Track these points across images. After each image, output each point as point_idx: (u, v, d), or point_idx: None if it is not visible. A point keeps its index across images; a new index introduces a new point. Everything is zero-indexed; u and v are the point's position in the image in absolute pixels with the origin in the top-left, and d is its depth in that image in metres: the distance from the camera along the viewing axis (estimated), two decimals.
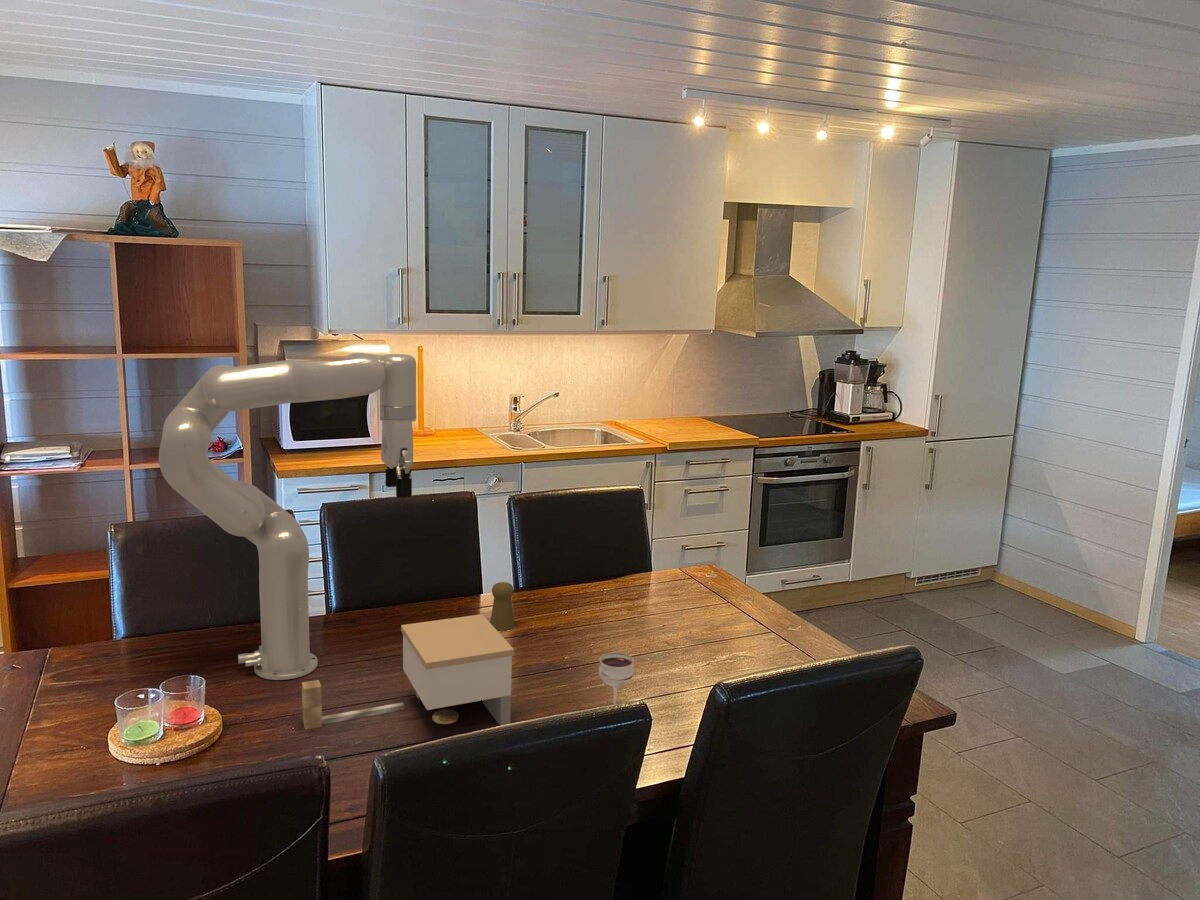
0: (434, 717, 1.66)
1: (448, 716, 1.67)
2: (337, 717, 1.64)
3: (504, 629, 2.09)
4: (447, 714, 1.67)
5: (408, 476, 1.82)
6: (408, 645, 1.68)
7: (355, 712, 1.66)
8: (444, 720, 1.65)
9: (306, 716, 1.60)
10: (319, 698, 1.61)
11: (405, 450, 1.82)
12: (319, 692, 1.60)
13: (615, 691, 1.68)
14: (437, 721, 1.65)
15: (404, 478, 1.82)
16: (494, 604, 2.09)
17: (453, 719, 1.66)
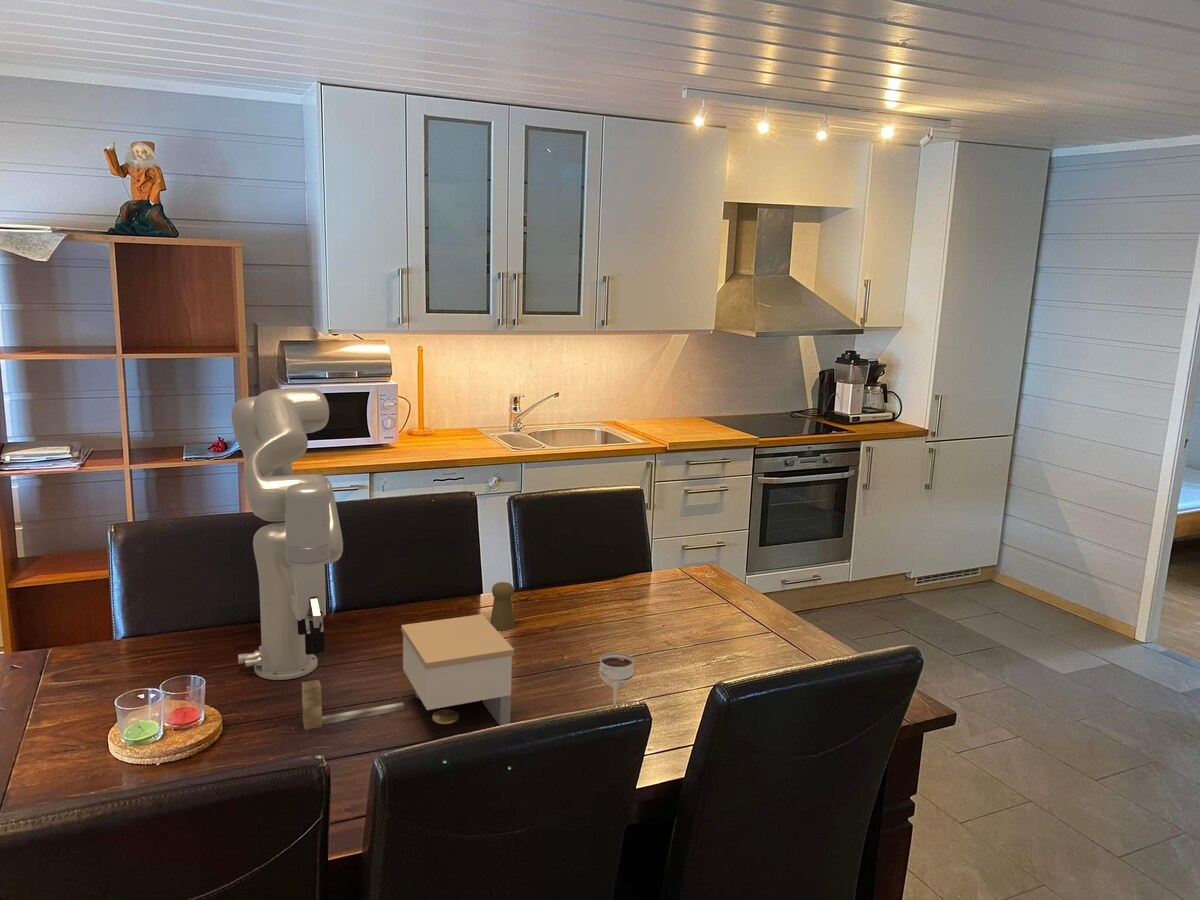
0: (434, 717, 1.66)
1: (448, 716, 1.67)
2: (337, 717, 1.64)
3: (504, 629, 2.09)
4: (448, 714, 1.67)
5: (319, 630, 1.53)
6: (408, 645, 1.68)
7: (355, 712, 1.66)
8: (444, 720, 1.65)
9: (306, 716, 1.60)
10: (319, 698, 1.61)
11: (315, 599, 1.53)
12: (319, 692, 1.60)
13: (615, 691, 1.68)
14: (437, 721, 1.65)
15: (314, 632, 1.53)
16: (494, 604, 2.09)
17: (453, 719, 1.66)
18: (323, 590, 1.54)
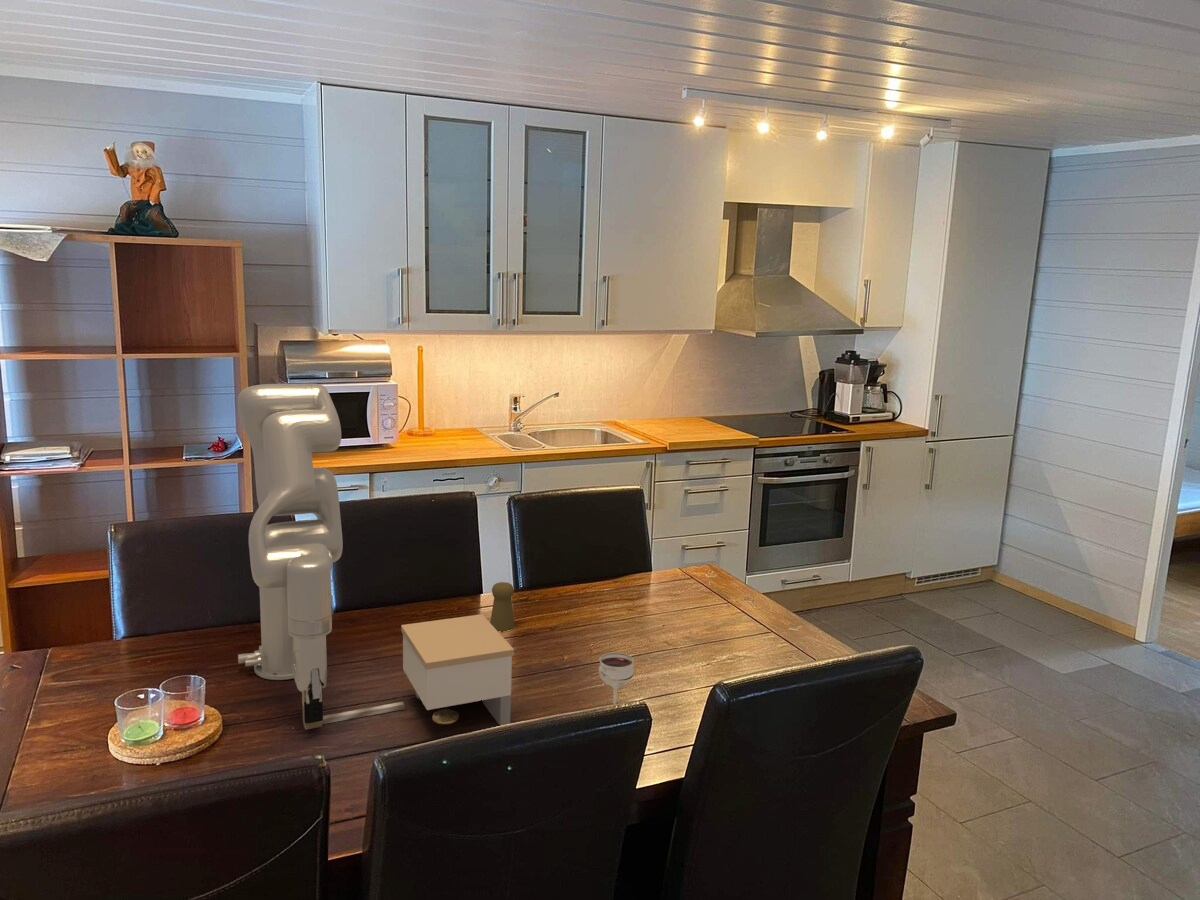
0: (434, 717, 1.66)
1: (448, 716, 1.67)
2: (338, 716, 1.64)
3: (504, 629, 2.09)
4: (448, 714, 1.67)
5: (317, 701, 1.58)
6: (408, 645, 1.68)
7: (355, 712, 1.66)
8: (444, 720, 1.65)
9: None
10: None
11: (316, 675, 1.56)
12: None
13: (615, 691, 1.68)
14: (437, 721, 1.65)
15: (313, 703, 1.59)
16: (494, 604, 2.09)
17: (453, 719, 1.66)
18: (324, 662, 1.56)
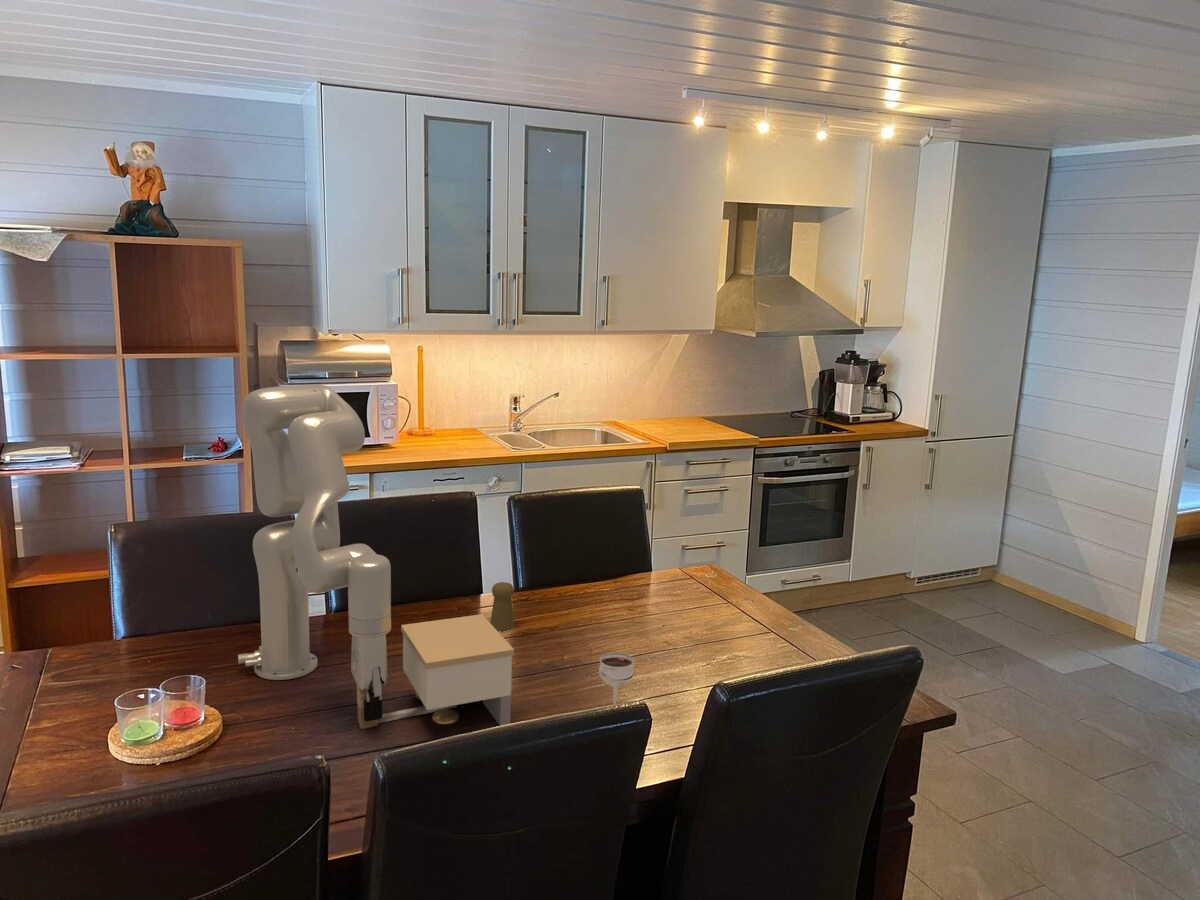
0: (434, 717, 1.66)
1: (448, 716, 1.67)
2: (392, 715, 1.65)
3: (504, 629, 2.09)
4: (448, 714, 1.67)
5: (377, 699, 1.60)
6: (408, 645, 1.68)
7: (409, 710, 1.67)
8: (444, 720, 1.65)
9: (362, 715, 1.61)
10: None
11: (377, 673, 1.57)
12: None
13: (615, 691, 1.68)
14: (437, 721, 1.65)
15: (373, 701, 1.60)
16: (494, 604, 2.09)
17: (453, 719, 1.66)
18: (385, 660, 1.58)
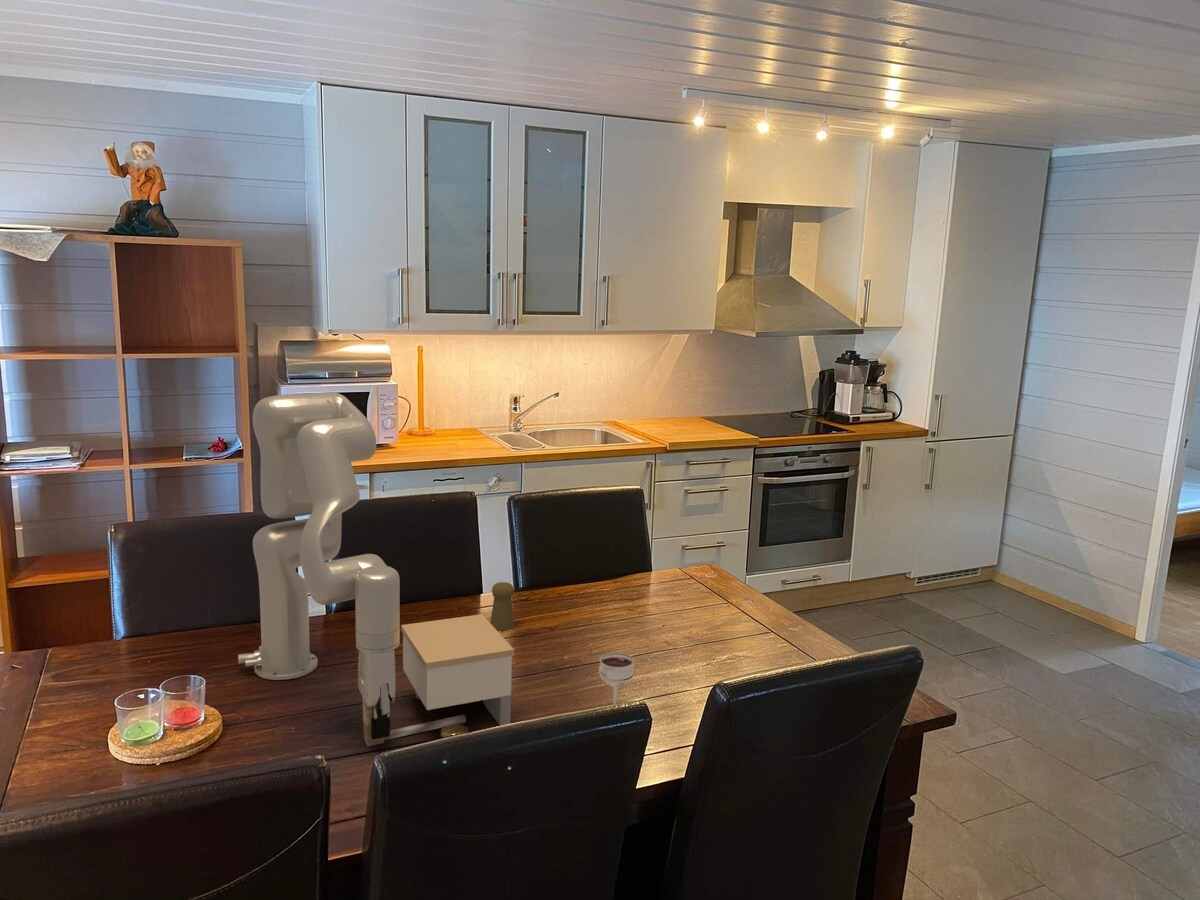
0: (443, 732, 1.60)
1: (458, 731, 1.61)
2: (399, 732, 1.59)
3: (504, 629, 2.09)
4: (457, 730, 1.61)
5: (385, 716, 1.54)
6: (408, 645, 1.68)
7: (417, 726, 1.61)
8: None
9: (368, 732, 1.55)
10: None
11: (385, 690, 1.51)
12: None
13: (615, 691, 1.68)
14: (445, 736, 1.59)
15: (381, 718, 1.54)
16: (494, 604, 2.09)
17: None
18: (393, 676, 1.52)
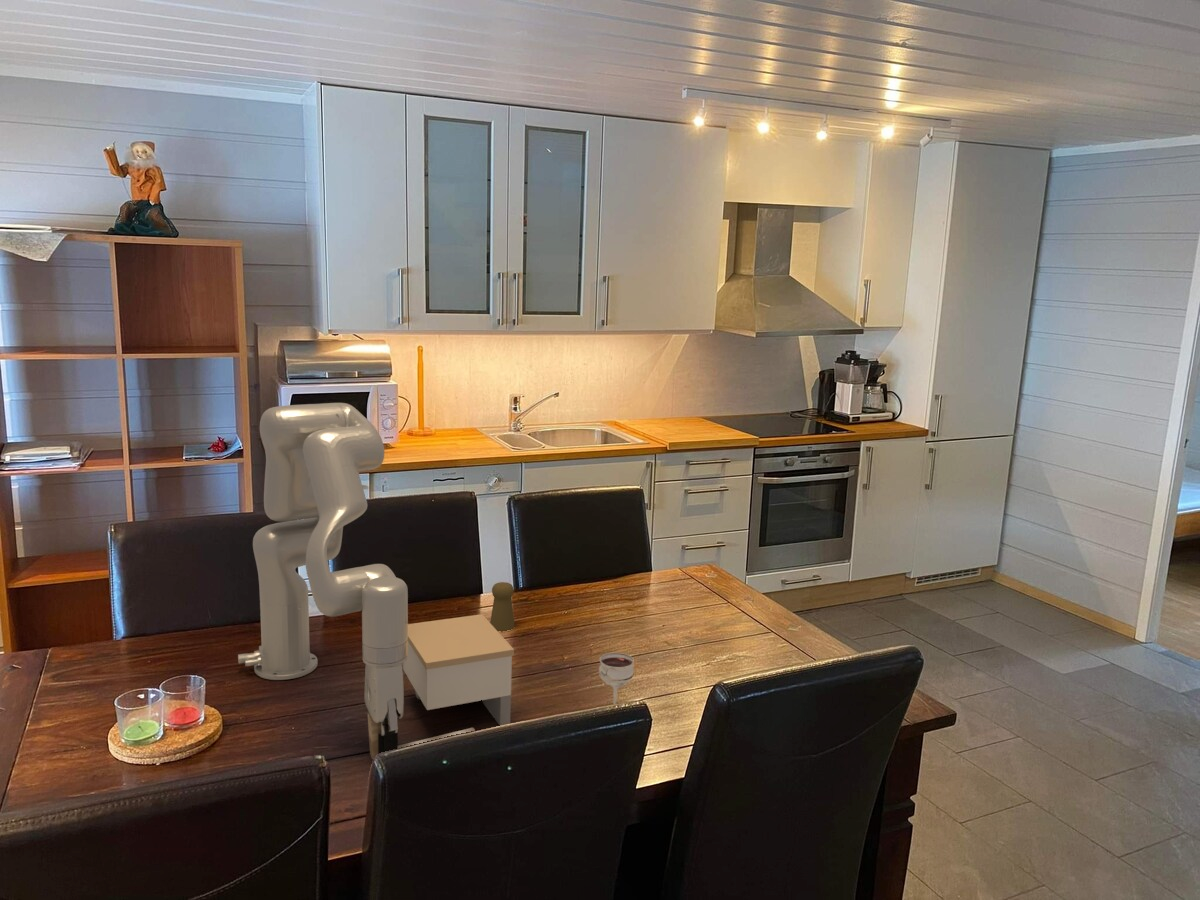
0: None
1: None
2: None
3: (504, 629, 2.09)
4: None
5: (393, 732, 1.49)
6: (408, 645, 1.68)
7: (424, 741, 1.55)
8: None
9: (374, 749, 1.50)
10: None
11: (393, 706, 1.46)
12: (387, 723, 1.50)
13: (615, 691, 1.68)
14: None
15: (388, 734, 1.49)
16: (494, 604, 2.09)
17: None
18: (402, 691, 1.47)
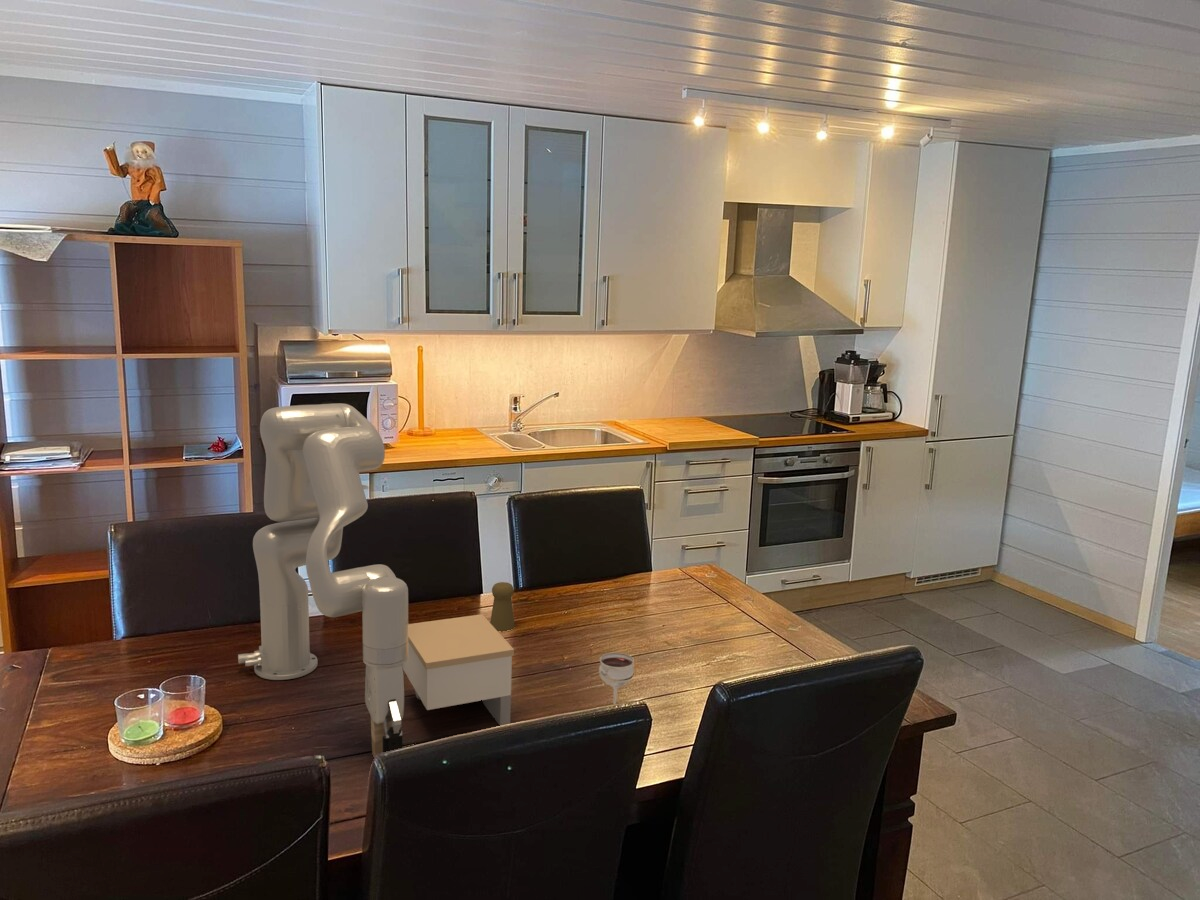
0: None
1: None
2: None
3: (504, 629, 2.09)
4: None
5: (398, 735, 1.45)
6: (408, 645, 1.68)
7: None
8: None
9: (377, 750, 1.50)
10: None
11: (394, 702, 1.45)
12: (390, 724, 1.50)
13: (615, 691, 1.68)
14: None
15: (393, 737, 1.46)
16: (494, 604, 2.09)
17: None
18: (402, 692, 1.46)
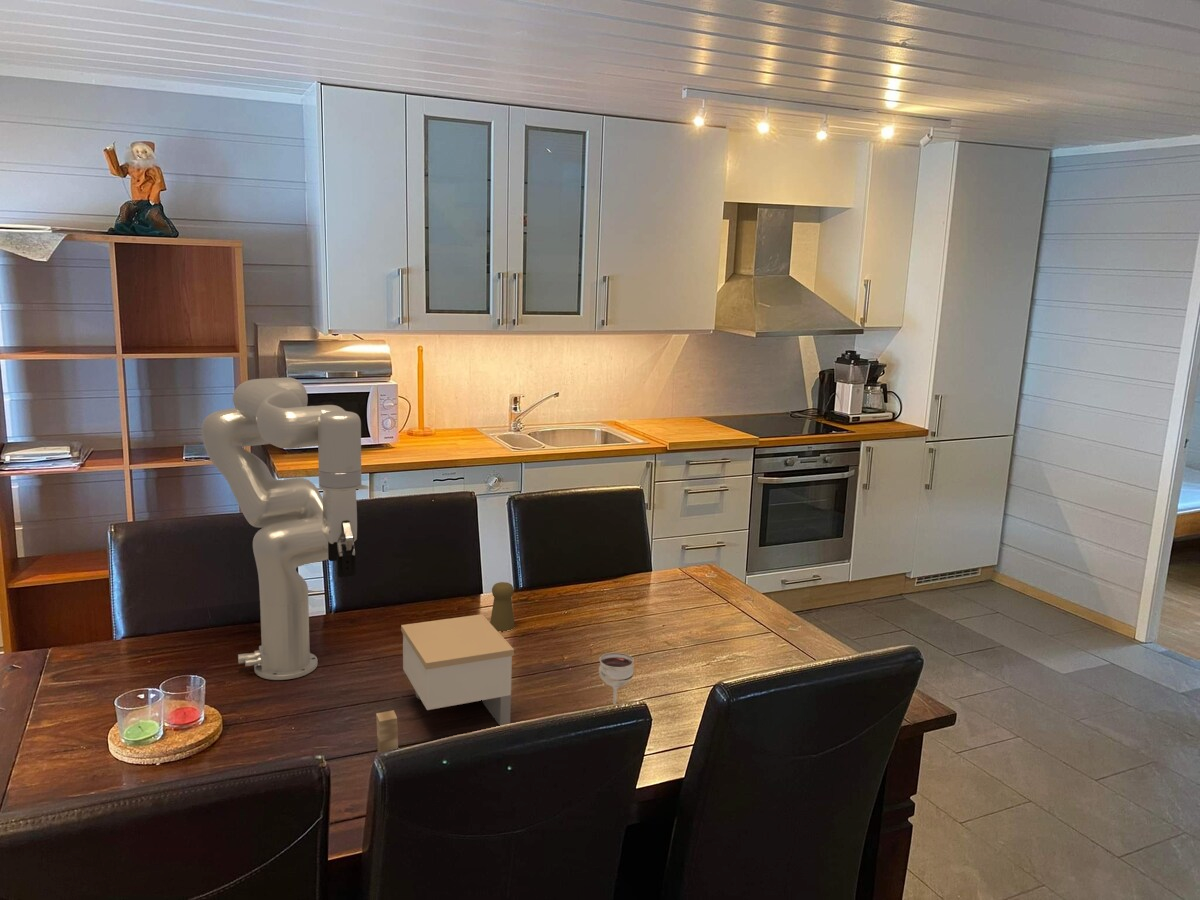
0: None
1: None
2: None
3: (504, 629, 2.09)
4: None
5: (350, 553, 1.57)
6: (408, 645, 1.68)
7: None
8: None
9: (382, 750, 1.50)
10: (395, 730, 1.50)
11: (347, 523, 1.57)
12: (395, 724, 1.50)
13: (615, 691, 1.68)
14: None
15: (346, 555, 1.58)
16: (494, 604, 2.09)
17: None
18: (355, 515, 1.58)
